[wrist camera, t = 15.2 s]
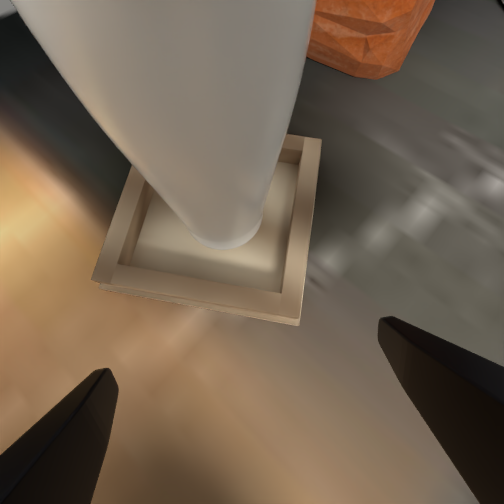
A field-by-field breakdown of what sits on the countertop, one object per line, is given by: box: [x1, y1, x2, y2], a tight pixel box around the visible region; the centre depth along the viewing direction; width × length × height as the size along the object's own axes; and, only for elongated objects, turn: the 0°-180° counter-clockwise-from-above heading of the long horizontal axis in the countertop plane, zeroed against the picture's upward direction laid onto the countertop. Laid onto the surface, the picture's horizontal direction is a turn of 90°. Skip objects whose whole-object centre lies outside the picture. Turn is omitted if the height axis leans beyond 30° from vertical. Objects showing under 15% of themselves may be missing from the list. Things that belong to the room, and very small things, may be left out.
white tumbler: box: [10, 0, 317, 250], centre depth 12 cm, size 7×7×15 cm
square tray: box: [91, 134, 322, 326], centre depth 19 cm, size 13×13×2 cm
